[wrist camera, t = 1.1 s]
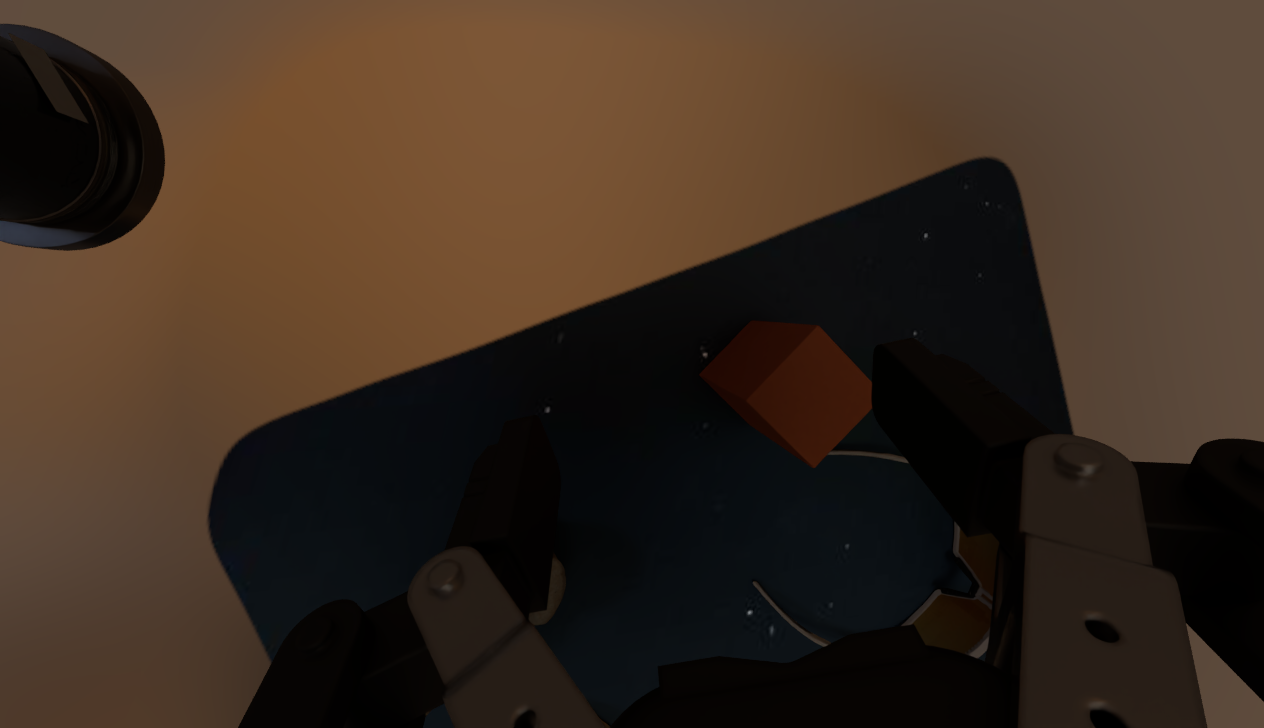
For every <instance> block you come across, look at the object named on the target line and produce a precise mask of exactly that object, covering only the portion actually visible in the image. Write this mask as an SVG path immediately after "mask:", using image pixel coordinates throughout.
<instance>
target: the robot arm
mask: <svg viewBox="0 0 1264 728" xmlns="http://www.w3.org/2000/svg"><path fill="white" fill-rule="evenodd" d="M8 34H9V35H10V37H11V38H12V40H13V42H12V41H10V40H8V39H6V38H4V37H1V36H0V220H1V221H8V222H14V223H21V224H30V225H45V224H53V223H59V222H63V221H66V220H69V219H72V218H74V217H76V216H78V215H80V214H82V213H84V212H85V211H87V210H88V209H90V208H91V207H92V206H93V205H95V204H96V203H97V202H98V201H99V200H100V199H101V197H102V196H103V195H104V194H105V192H106V191H107V189H108V187H109V186H110V184H111V182H112V179H113V177H114V174H115V171H116V166H117V160H118V142H117V135H116V131H115V127H114V124H113V121H112V118H111V116H110V114H109V112H108V110H107V108H106V106H105V104H104V103H103V101H102V100H101V98H100V97H99V95H98V94H97V93H96V92H95V90H94V89H93V88H92V87H91V86H90V85H89V84H88V83H87V82H86V81H85V80H84V79H83V78H82V77H81V76H80V75H79V74H77V73H76V72H75V71H73V70H72V69H70V68H69V67H67V66H66V65H64V64H63V63H61V62H59V61H57V60H55V59H53V58H51V57H49V56H47V54H46V53H45V51H44V50H43V49H41V48H39V47H37V46H35V45H33V44H30V43H28V42H26V41H24V40H22V39H20V38H18V37H16V36H14V35H12V34H10V33H8ZM871 402H872V408H873V412H874V415H875V418H876V420H877V422H878V424H879V425H880V427H881V428H882V429H883V430H884V432H885V433H886V434H887V436H888V437H889V438H890V439H891V441H892V442H893V443H894V444H895V446H896V447H897V448H898V450H899V451H900V452H901V453H902V455H903V456H904V457H905V459H906V460H907V461H908V462H909V464H910V465H911V466H912V467H913V469H914V470H915V471H916V473H917V474H918V475H919V476H920V478H921V479H922V480H923V481H924V483H925V484H926V485H927V487H928V488H929V489H930V490H931V492H932V493H933V494H934V496H935V497H936V498H937V499H938V501H939V502H940V503H941V504H942V506H943V507H944V508H945V510H946V511H947V512H948V513H949V515H950V516H951V517H952V519H953V520H954V521H955V522H956V524H957V525H958V526H959V527H960V529H961V530H962V531H963V533H964V534H965V535H966V536H967V537H973V536H978V535H984V534H990V533H992V534H993V536H994V537H995V538H996V539H997V540H998V541H999V547H998V551H997V556H996V567H995V579H994V590H993V601H992V612H991V623H990V633H989V641H988V647H987V652H986V657H985V662H984V661H982V660H980V659H977V658H975V657H973V656H970V655H967V654H963V653H960V652H957V651H954V650H950V649H945V648H940V647H936V646H929V645H925V643H924V641H923V639H922V638H921V636H920V634H919V632H918V631H917V629H916V627H915V625H914V624H911V625H905V626H899V627H892V628H886V629H880V630H874V631H868V632H862V633H856V634H850V635H847V636H845V637H843V638H841V639H839V640H837V641H835V642H833V643H831V644H829V645H827V646H825V647H823V648H821V649H819V650H817V651H814V652H812V653H810V654H808V655H806V656H804V657H802V658H800V659H798V660H796V661H793V662H790V663H777V662H768V661H758V660H749V659H740V658H730V657H721V656H718V657H711V658H705V659H699V660H693V661H687V662H681V663H675V664H669V665H663V666H658V673H659V685H660V687H658V688H656V689H654V690H652V691H650V692H649V693H647V694H646V695H644V696H643V697H641V698H640V699H638V700H637V701H635V702H634V703H633V704H632V705H631V706H630V707H629V708H627V709H626V710H625V711H624V712H623V713H622V714H621V715H620V716H619V717H618V719H617V720H616V721H615V722H614V723H613V724H612V725H611V727H610V728H1207V724H1206V719H1205V715H1204V709H1203V705H1202V699H1201V695H1200V690H1199V685H1198V680H1197V675H1196V670H1195V665H1194V660H1193V656H1192V651H1191V646H1190V641H1189V636H1188V631H1187V626H1186V623H1187V624H1188V625H1189V626H1190V627H1191V628H1192V629H1193V630H1194V631H1195V632H1196V633H1197V635H1199V637H1201V638H1202V640H1203V641H1204V642H1205V643H1206V644H1207V645H1208V646H1209V647H1210V648H1211V649H1212V650H1213V651H1214V652H1215V653H1216V654H1217V655H1218V656H1219V657H1220V658H1221V659H1222V660H1223V661H1224V662H1225V663H1226V664H1227V665H1228V666H1229V667H1230V668H1231V669H1232V670H1233V671H1234V672H1235V673H1236V674H1237V675H1238V676H1239V677H1240V678H1241V679H1242V680H1243V681H1244V682H1245V683H1246V684H1247V685H1248V686H1249V687H1250V688H1251V689H1252V690H1253V691H1254V692H1255V693H1256V694H1257V695H1258V696H1259V698H1261V699H1262V701H1264V442H1260V441H1254V440H1246V439H1218V440H1213V441H1210V442H1207V443H1205V444H1203V445H1202V446H1201V447H1200V448H1199V449H1198V450H1197V452H1196V454H1195V456H1194V458H1193V460H1192V462H1191V464H1180V463H1155V462H1154V463H1153V462H1133V461H1129V460H1128V459H1127V458H1126V457H1125V456H1124V455H1122V454H1121V453H1120V452H1118V451H1116V450H1115V449H1113V448H1111V447H1109V446H1107V445H1105V444H1103V443H1100V442H1098V441H1095V440H1092V439H1088V438H1085V437H1079V436H1075V435H1067V434H1054V433H1053V432H1052V431H1051V430H1049V429H1048V428H1047V427H1045V426H1044V425H1043V424H1042V423H1040V422H1039V421H1038V420H1037V419H1035V418H1034V417H1033V416H1032V415H1030V414H1029V413H1028V412H1027V411H1025V410H1024V409H1023V408H1022V407H1020V406H1019V405H1018V404H1017V403H1015V402H1014V401H1013V400H1012V399H1010V398H1009V397H1008V396H1007V395H1005V394H1004V393H1000V392H999V389H998V388H997V387H995V386H994V385H993V384H992V383H990V382H989V381H985V378H984V377H983V376H981V375H980V374H979V373H978V372H976V371H975V370H974V369H973V368H971V367H970V366H969V365H968V364H966V363H963V362H961V361H958V360H956V359H953V358H951V357H949V356H946V355H944V354H940V355H934V354H933V353H932V352H930V351H929V350H928V349H927V348H926V347H925V346H923V345H922V344H921V343H920V342H919V341H917V340H916V339H914V338H909V339H904V340H899V341H894V342H889V343H885V344H880V345H877V346H876V347H875V349H874V354H873V373H872V395H871ZM560 489H561V478H560V471H559V466H558V463H557V460H556V457H555V455H554V452H553V450H552V447H551V445H550V442H549V440H548V437H547V435H546V432H545V430H544V427H543V425H542V423H541V420H540V419H539V417H538V416H537V415H534V416H529V417H524V418H519V419H514V420H510V421H506V422H505V423H504V426H503V429H502V432H501V436H500V439H499V443H498V444H495V445H490V446H488V447H487V448H486V449H485V450H484V452H483V453H482V454H481V455H480V457H479V458H478V459H477V460H476V462H475V463H474V466H473V469H472V472H471V475H470V478H469V483H468V484H467V486H466V489H465V492H464V498H462V501H461V504H460V507H459V510H458V513H457V516H456V519H455V522H454V524H453V527H452V530H451V533H450V536H449V539H448V542H447V545H446V548H445V551H443V552H441V553H439V554H438V555H436V556H434V557H433V558H432V559H430V560H429V561H428V562H427V563H426V564H425V565H424V566H422V568H421V569H420V570H419V571H418V572H417V574H416V575H415V577H414V578H413V580H412V582H411V584H410V587H409V590H408V591H407V592H405V593H403V594H402V595H399V596H397V597H395V598H393V599H391V600H389V601H387V602H385V603H383V604H380V605H378V606H376V607H374V608H372V609H370V610H368V611H366V612H363V610H362V609H361V608H360V607H359V606H358V605H357V603H355V602H354V601H351V600H343V599H342V600H336V601H333V602H330V603H327V604H325V605H323V606H321V607H319V608H318V609H316V610H314V611H313V612H311V613H310V614H309V615H307V616H306V617H305V618H304V619H302V620H301V621H300V622H299V623H298V624H297V625H296V626H295V627H294V628H293V629H292V631H291V632H290V633H289V634H288V636H287V637H286V638H285V640H284V641H283V643H282V645H281V646H280V648H279V650H278V652H277V654H276V656H275V658H274V660H273V662H272V664H271V665H270V667H269V669H268V671H267V673H266V675H265V677H264V679H263V681H262V683H261V685H260V687H259V689H258V690H257V692H256V694H255V696H254V698H253V700H252V702H251V704H250V706H249V708H248V710H247V712H246V713H245V715H244V717H243V719H242V721H241V723H240V725H239V727H238V728H423V725H424V721H425V716H426V713H427V712H429V711H431V710H432V709H434V708H436V707H438V706H440V705H442V704H445V706H446V709H447V711H448V713H449V716H450V718H451V720H452V722H453V725H454V727H455V728H606V727H605V726H604V724H603V723H602V721H601V720H600V719H599V717H598V716H597V714H596V713H595V712H594V710H593V709H592V707H591V706H590V705H589V703H588V702H587V700H586V699H585V697H584V696H583V695H582V693H581V692H580V690H579V689H578V688H577V686H576V685H575V683H574V682H573V681H572V679H571V678H570V676H569V675H568V673H567V672H566V671H565V669H564V668H563V666H562V665H561V664H560V662H559V661H558V659H557V658H556V657H555V655H554V654H553V652H552V651H551V649H550V648H549V647H548V645H547V644H546V642H545V641H544V640H543V638H542V637H541V635H540V634H539V633H538V631H537V630H536V628H535V627H534V626H533V624H532V623H531V622H530V620H529V613H534V612H539V611H545V610H547V605H548V596H549V587H550V578H551V570H552V561H553V552H554V543H555V534H556V525H557V516H558V507H559V498H560Z"/></svg>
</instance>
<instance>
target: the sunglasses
mask: <svg viewBox="0 0 1264 728" xmlns="http://www.w3.org/2000/svg"><path fill="white" fill-rule="evenodd" d="M827 455H858V456H870V457H878V458H885V459H891V460H895V461H900V462H905V463H909V462H908V461H907V460H906V459H905V457H901V456H897V455H893V454H887V453H882V452H873V451H864V450H848V449H832V450H831V451H830V452H829V453H828V454H827ZM998 547H999V541H998V540H997V539H996V538H995V537H994V536H993V534H992V533H990V534H984V535H978V536H973V537H967V536H966V535H965V534H964V533H963V531H962V530H961V529H960V527H959V526H958V525H957V524H956V522H955V521H954V543H953V553H954V555H955V556H956V557H955V558H954V561H955V563H956V564H957V565H958V566H959V568H960V569H961V570H962V571H963V572H964V574H965V575H966V576H967V577H968V578H969V579H970V580H971V582H972V585H971V587H970V590H969V592H968V593H963V592H960V591H956V590H952V589H948V588H941V590H939V589H938V590H935V591H934V593H933V594H932V595H931V596H930V597H929V598H928V600H927V601H926V602H925V603H924V604H923V605H922V606H921V607H920V608H919V609H918V610H917V611H916V612H915V613H914V614H913V615H912V616H911V617H910V618H909V619H908V620H907V621H906V622H904V623H903V624H902V625H901V626H905V625H911V624H914V625H915V627H916V629H917V631H918V632H919V634H920V636H921V638H922V639H923V641H924V643H925V645H929V646H936V647H940V648H945V649H950V650H954V651H957V652H960V653H963V654H967V655H970V656H973V657H975V658H978V657H980V656H981V655H982V654H983V653H984V652H985V651H986V650H987V647H988V641H989V633H990V623H991V612H992V601H993V590H994V579H995V567H996V556H997V551H998ZM753 584H754V586H755V587H756V588H757V589H758V591H759V592H760V593H761V594H762V595H763V596H764V598H765V599H766V600H767V601H768V602H769V603H770V605H771V606H772V607H773V608H774V609H775V610H776V611H777V612H778V613H779V614H780V615H781V616H782V617H783V618H784V619H785V620H786V621H787V622H789V623H790V624H791V625H792V626H793V627H794V628H796V629H797V630H798V631H799V632H800V633H802V634H803V635H805V636H806V637H808V638H809V639H811V640H812V641H814V642H815V643H817V644H819V645H821V646H823V647H825V646H827V645H829V644H831V643H830V642H828V641H826V640H824V639H823V638H821V637H819V636H817V635H815V634H813V633H811V632H809V631H808V630H806V629H805V628H804V627H802V626H801V625H799V624H798V623H797V622H796V621H795V620H794V619H792V618H791V617H790V616H789V615H788V614H787V613H786V612H785V611H784V610H783V609H781V608H780V607H779V606H778V605H777V604H776V603H775V602H774V600H773V599H772V598H771V597H770V596H769V595H768V594H767V592H766V591H765V590H764V589H763V588H762V587H761V585H760V584H759V583H757V582H756V581H753Z"/></svg>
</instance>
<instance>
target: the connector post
mask: <svg viewBox="0 0 1264 728" xmlns="http://www.w3.org/2000/svg"><path fill="white" fill-rule="evenodd" d="M699 375H700V377H701V378H702V379H703V380H704V381H705V382H707V383H708V384H709V385H710V386H711V387H712V388H713V389H714V390H715V391H716V392H717V393H718V394H719V395H720V396H721V397H722V398H723V399H724V400H725V401H726V402H727V403H728V404H729V405H730V406H731V407H732V408H733V409H734V410H735V411H736V412H737V413H738V414H739V415H740V416H741V417H742V418H743V419H744V420H745V421H746V422H747V423H748V424H749V425H751V426H752V427H754V428H755V429H756V430H758V431H759V432H761V433H762V434H764V435H765V436H767V437H768V438H770V439H771V440H773V441H774V442H776V443H777V444H778V445H780V446H781V447H783V448H784V449H786V450H787V451H789V452H790V453H792V454H793V455H795V456H796V457H797V458H799V459H800V460H802V461H803V462H805V463H806V464H808V465H809V466H811V467H812V468H815V467H816V466H817V465H818V464H819V463H820V462H821V461H822V459H823V458H824V457H825V456H826V455H827V454H828V453H829V452H830V451H831V450H832V449H833V448H834V447H835V446H836V445H837V444H838V443H839V442H840V441H841V440H842V439H843V438H844V437H845V436H846V435H847V434H848V433H849V432H850V431H851V429H852V428H853V427H854V426H855V425H856V424H857V423H858V422H859V421H860V420H861V419H862V418H863V417H864V416H865V415H866V414H867V413H868V412H869V411H870V410H871V409H872V402H871V395H872V382H871V381H870V380H869V379H868V378H867V377H866V376H865V375H864V374H863V373H862V371H861V370H860V369H859V368H858V367H857V366H856V365H855V364H854V363H853V362H852V361H851V360H850V359H849V358H848V356H847V355H846V354H845V353H844V352H843V351H842V350H841V349H840V348H839V347H838V346H837V345H836V344H835V343H834V341H833V340H832V339H831V338H830V337H829V336H828V335H827V334H826V333H825V332H824V331H823V330H822V329H821V328H820V326H817V325H804V324H791V323H778V322H765V321H750V322H749V323H748V324H747V325H746V326H745V327H744V328H743V329H742V330H741V332H740V333H739V334H738V335H737V336H736V337H735V338H734V339H733V340H732V341H731V342H730V343H729V344H728V345H727V346H726V347H725V348H724V349H723V350H722V351H721V352H720V353H719V354H718V355H717V356H716V357H715V359H714V360H713V361H712V362H711V363H710V364H709V365H708V366H707V367H706V368H705V369H704V370H703V371H702V372H701V373H700V374H699Z"/></svg>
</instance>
